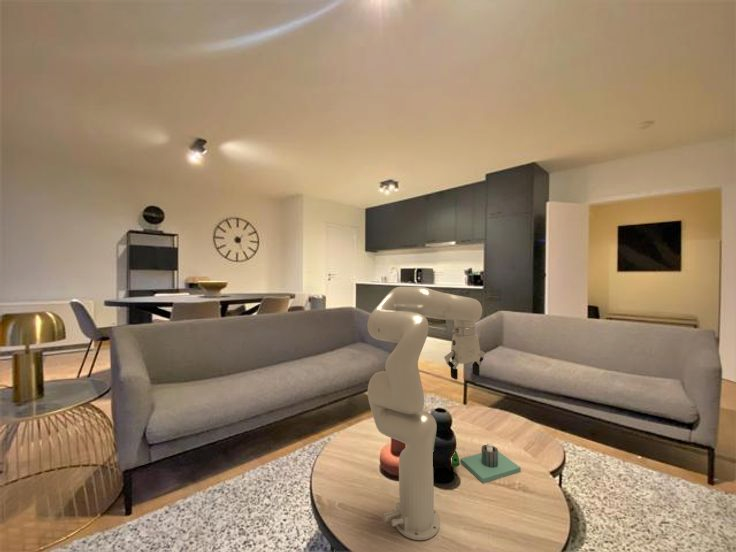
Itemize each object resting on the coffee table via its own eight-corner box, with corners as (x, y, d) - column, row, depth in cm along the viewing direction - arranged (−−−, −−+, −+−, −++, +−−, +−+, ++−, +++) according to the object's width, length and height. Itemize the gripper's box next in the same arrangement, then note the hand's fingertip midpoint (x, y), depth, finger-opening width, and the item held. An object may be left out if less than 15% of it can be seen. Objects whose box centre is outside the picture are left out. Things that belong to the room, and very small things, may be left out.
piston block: (483, 483, 104) (482, 457, 104) (460, 462, 115) (460, 439, 115) (520, 471, 109) (520, 447, 109) (495, 452, 121) (495, 430, 120)
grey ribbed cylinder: (489, 469, 109) (488, 454, 109) (478, 460, 114) (478, 446, 114) (501, 465, 111) (501, 451, 110) (490, 457, 116) (490, 443, 115)
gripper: (451, 335, 111) (451, 383, 111) (490, 330, 117) (491, 376, 117) (439, 331, 118) (439, 376, 118) (477, 327, 124) (477, 370, 124)
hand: (465, 376), depth 118 cm, fingers open, 9 cm apart
